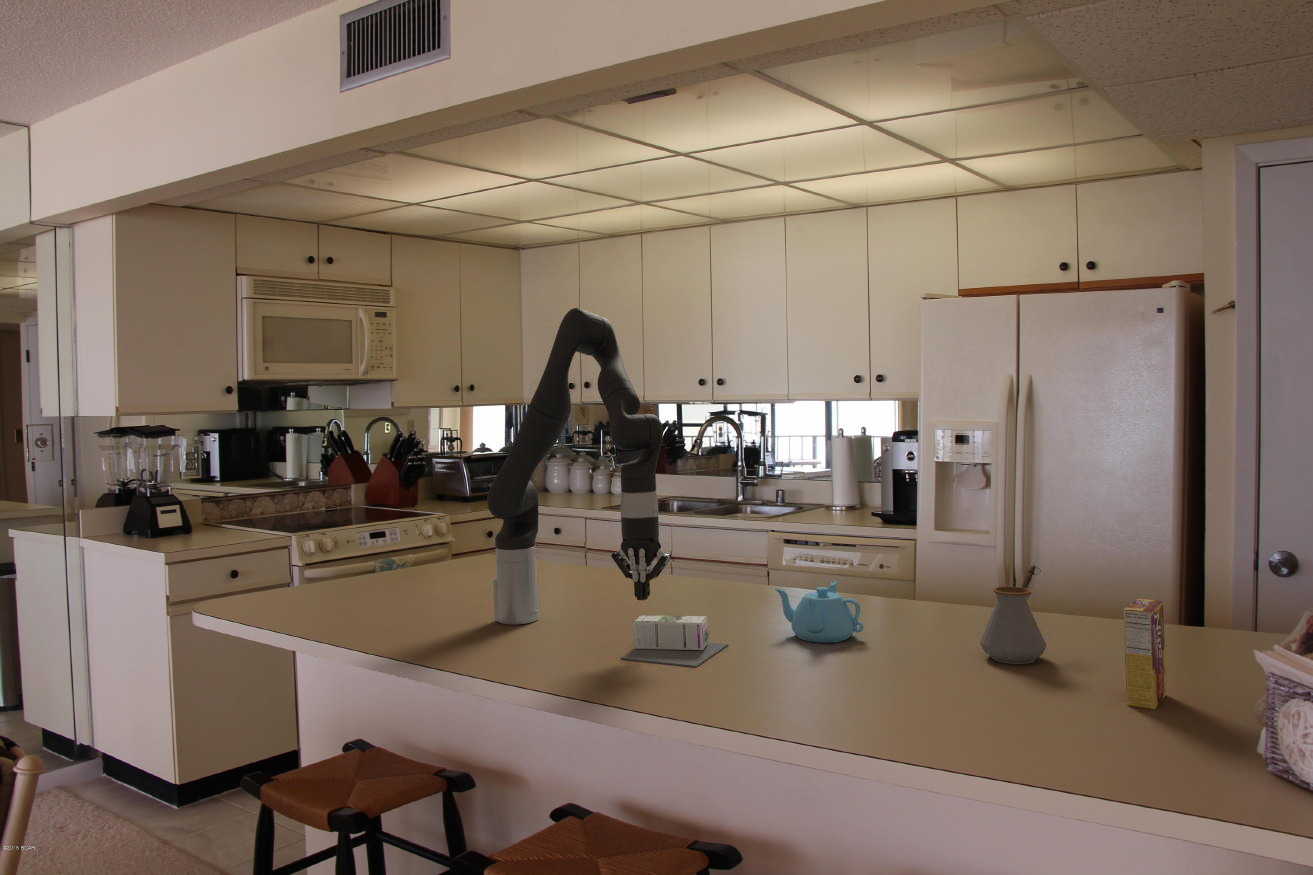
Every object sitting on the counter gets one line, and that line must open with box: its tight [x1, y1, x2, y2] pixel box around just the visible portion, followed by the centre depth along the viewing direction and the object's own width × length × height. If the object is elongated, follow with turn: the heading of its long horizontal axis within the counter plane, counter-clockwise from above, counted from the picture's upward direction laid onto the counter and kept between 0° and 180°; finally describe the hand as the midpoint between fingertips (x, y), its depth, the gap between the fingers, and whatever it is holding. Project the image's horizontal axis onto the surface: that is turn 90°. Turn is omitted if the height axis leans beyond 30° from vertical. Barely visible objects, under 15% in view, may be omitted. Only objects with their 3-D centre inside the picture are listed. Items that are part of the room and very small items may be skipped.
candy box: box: [1123, 598, 1168, 710], centre depth 142 cm, size 9×4×15 cm, turn 140°
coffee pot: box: [979, 564, 1047, 665], centre depth 171 cm, size 21×12×15 cm, turn 142°
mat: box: [620, 641, 729, 668], centre depth 179 cm, size 16×16×1 cm
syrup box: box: [631, 614, 710, 650], centre depth 181 cm, size 6×6×14 cm
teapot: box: [773, 579, 865, 644], centre depth 186 cm, size 15×15×10 cm
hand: (642, 599), depth 181 cm, fingers closed
